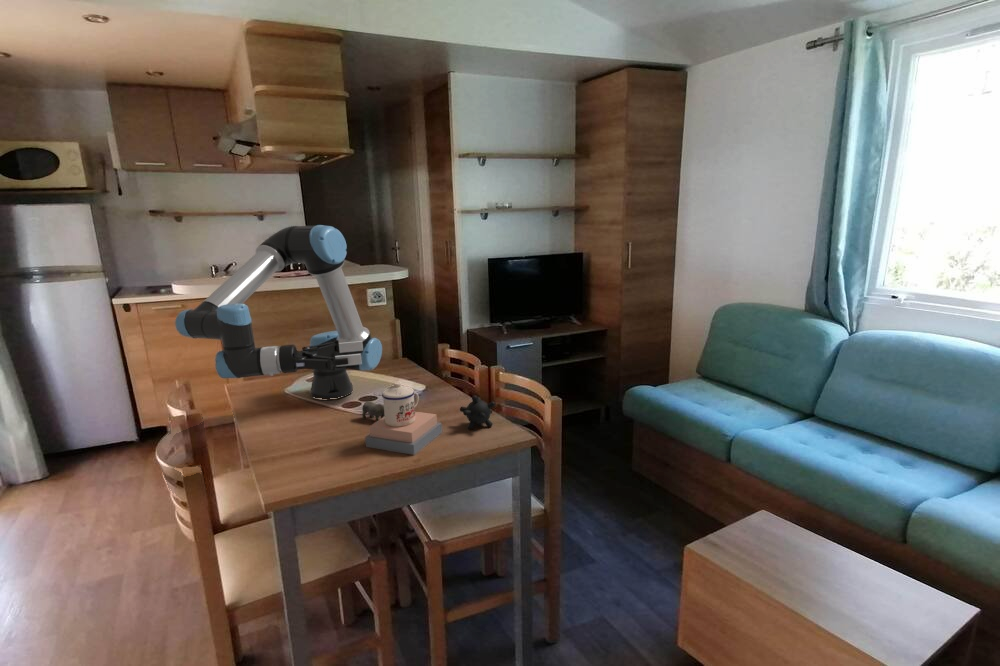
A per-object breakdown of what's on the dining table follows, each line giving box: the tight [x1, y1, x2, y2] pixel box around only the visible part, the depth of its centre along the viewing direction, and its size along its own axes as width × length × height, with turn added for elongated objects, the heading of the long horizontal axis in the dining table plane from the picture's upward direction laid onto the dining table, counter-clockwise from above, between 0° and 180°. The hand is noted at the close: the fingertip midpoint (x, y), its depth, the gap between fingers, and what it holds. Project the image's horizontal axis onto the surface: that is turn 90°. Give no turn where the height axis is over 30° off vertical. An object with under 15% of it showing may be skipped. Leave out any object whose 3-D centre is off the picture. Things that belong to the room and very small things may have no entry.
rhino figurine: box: [361, 401, 385, 423], centre depth 168 cm, size 4×14×6 cm, turn 60°
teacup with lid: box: [381, 381, 420, 427], centre depth 152 cm, size 12×9×12 cm
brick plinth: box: [364, 411, 443, 456], centre depth 154 cm, size 16×16×6 cm
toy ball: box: [459, 394, 496, 431], centre depth 162 cm, size 11×11×12 cm
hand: (362, 352), depth 146 cm, fingers open, 13 cm apart
